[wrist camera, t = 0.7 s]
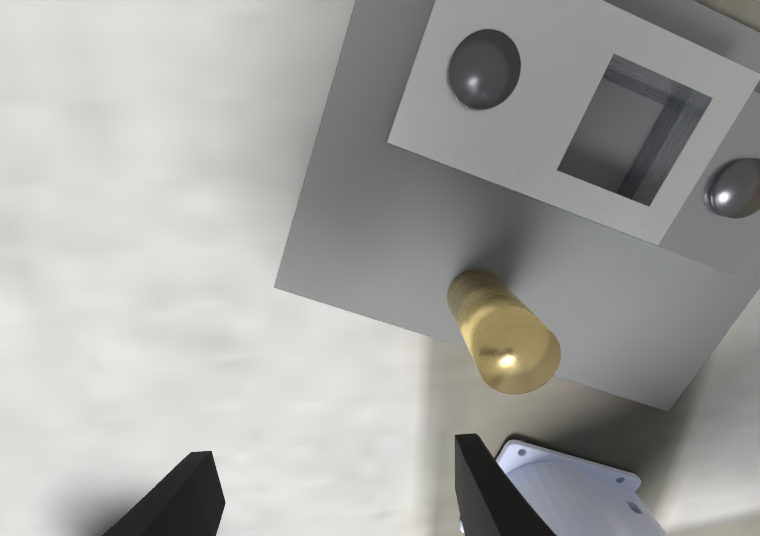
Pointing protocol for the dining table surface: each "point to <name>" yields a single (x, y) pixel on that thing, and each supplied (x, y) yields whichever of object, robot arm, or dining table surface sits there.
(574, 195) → the latch strike plate
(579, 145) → the mat
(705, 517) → the dining table surface
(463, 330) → the pin
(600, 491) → the robot arm
